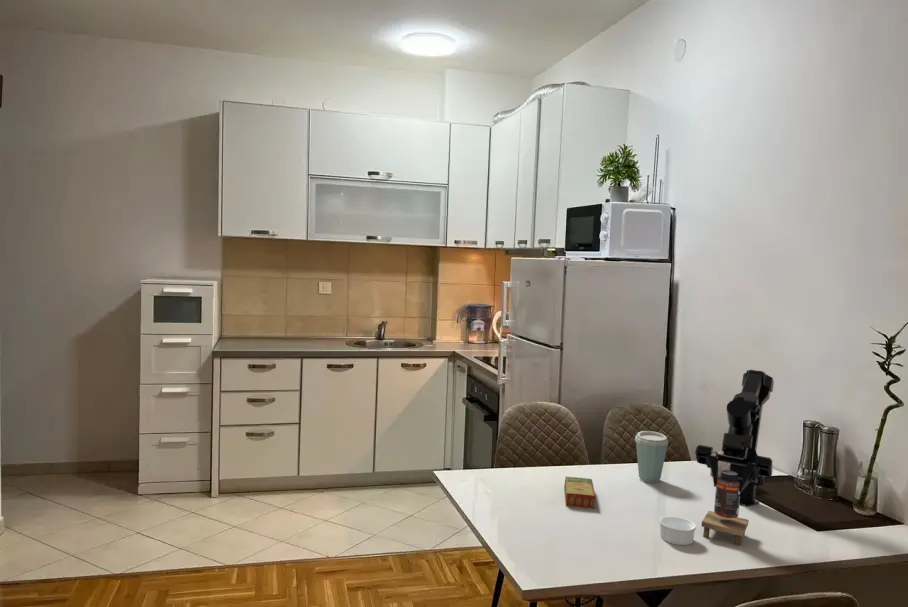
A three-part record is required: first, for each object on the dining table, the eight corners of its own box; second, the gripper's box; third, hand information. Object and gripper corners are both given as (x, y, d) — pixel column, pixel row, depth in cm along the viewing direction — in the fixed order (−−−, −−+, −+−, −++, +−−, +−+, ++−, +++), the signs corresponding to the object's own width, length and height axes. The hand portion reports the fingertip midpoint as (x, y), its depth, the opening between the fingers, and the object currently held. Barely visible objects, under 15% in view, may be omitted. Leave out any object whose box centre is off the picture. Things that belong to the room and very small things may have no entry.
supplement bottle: (743, 517, 176) (747, 475, 175) (726, 520, 174) (729, 476, 173) (725, 509, 182) (729, 467, 181) (708, 511, 179) (712, 469, 178)
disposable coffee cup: (669, 486, 216) (673, 439, 215) (635, 484, 216) (639, 437, 215) (660, 475, 227) (663, 431, 226) (627, 473, 227) (631, 429, 226)
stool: (707, 525, 185) (708, 510, 184) (747, 534, 180) (748, 519, 179) (700, 536, 176) (701, 521, 176) (741, 547, 171) (743, 531, 171)
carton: (565, 507, 193) (566, 492, 192) (563, 488, 209) (564, 475, 208) (594, 510, 192) (596, 495, 191) (591, 491, 207) (592, 477, 207)
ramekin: (690, 549, 168) (691, 532, 167) (654, 540, 172) (655, 523, 172) (698, 538, 175) (699, 522, 175) (663, 529, 180) (664, 513, 180)
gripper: (699, 415, 184) (686, 464, 176) (775, 427, 175) (765, 480, 166) (703, 437, 191) (691, 486, 183) (776, 451, 182) (767, 503, 173)
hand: (727, 488), depth 176 cm, fingers closed on supplement bottle, 6 cm apart
